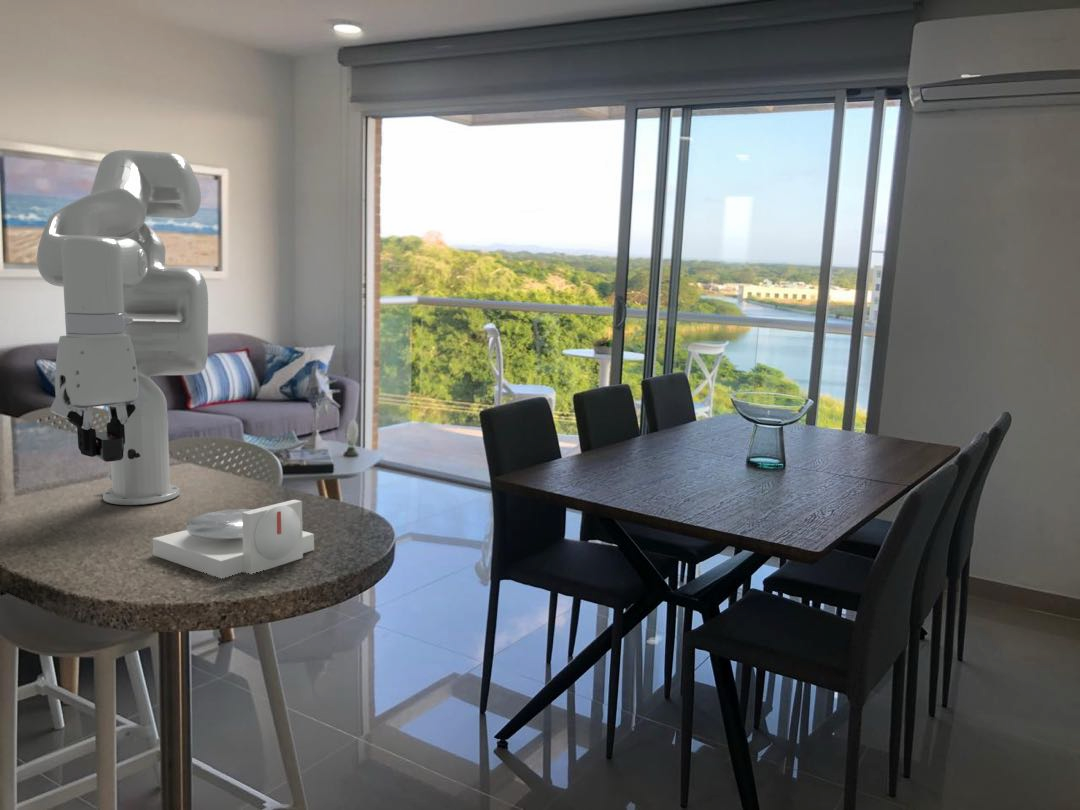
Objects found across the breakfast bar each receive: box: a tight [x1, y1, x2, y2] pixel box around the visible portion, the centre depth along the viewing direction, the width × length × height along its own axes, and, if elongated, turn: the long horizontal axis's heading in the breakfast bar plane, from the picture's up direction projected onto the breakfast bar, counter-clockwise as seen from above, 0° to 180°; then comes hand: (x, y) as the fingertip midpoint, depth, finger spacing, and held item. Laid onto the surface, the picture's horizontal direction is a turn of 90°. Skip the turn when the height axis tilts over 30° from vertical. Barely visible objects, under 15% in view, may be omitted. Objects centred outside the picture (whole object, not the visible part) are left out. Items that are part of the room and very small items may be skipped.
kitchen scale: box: [152, 499, 315, 580], centre depth 128 cm, size 18×16×9 cm
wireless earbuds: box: [94, 430, 140, 463], centre depth 126 cm, size 5×7×3 cm, turn 45°
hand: (102, 451), depth 126 cm, fingers closed on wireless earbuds, 3 cm apart
